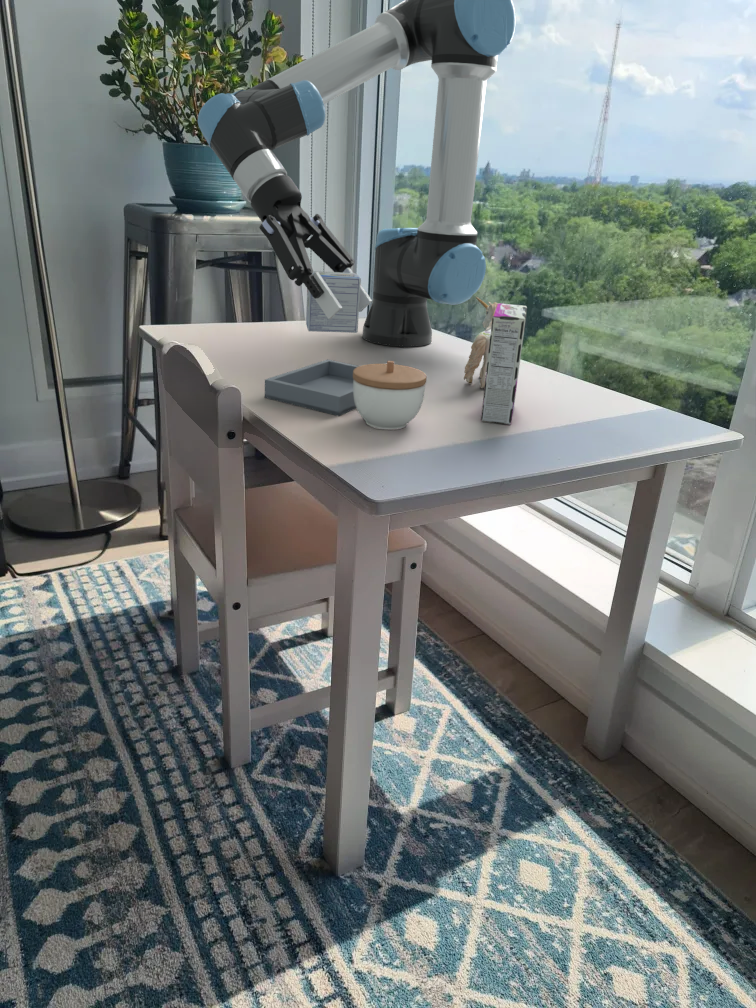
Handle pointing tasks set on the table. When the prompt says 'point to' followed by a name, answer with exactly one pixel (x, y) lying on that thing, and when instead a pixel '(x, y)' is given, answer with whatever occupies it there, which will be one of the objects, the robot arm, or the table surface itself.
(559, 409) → the table surface
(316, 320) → the medicine box
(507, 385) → the candy bar box
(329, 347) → the table surface
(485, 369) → the unicorn figurine
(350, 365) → the slate tray
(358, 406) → the lidded jar
